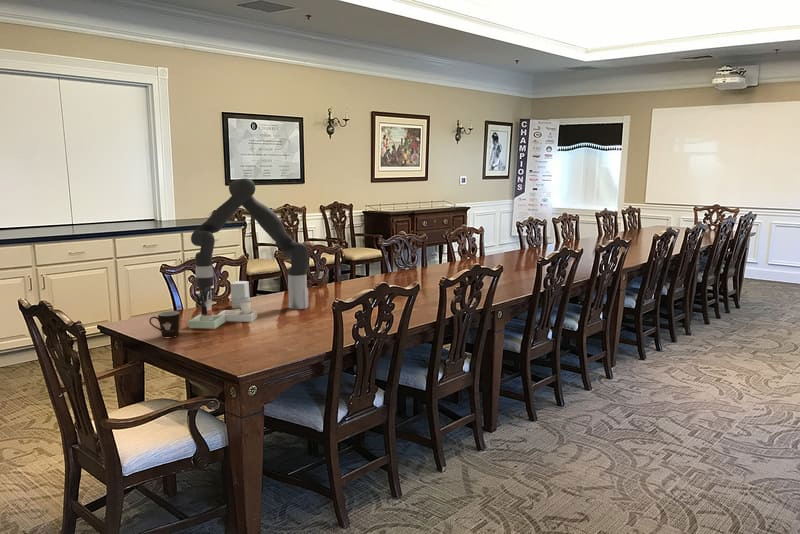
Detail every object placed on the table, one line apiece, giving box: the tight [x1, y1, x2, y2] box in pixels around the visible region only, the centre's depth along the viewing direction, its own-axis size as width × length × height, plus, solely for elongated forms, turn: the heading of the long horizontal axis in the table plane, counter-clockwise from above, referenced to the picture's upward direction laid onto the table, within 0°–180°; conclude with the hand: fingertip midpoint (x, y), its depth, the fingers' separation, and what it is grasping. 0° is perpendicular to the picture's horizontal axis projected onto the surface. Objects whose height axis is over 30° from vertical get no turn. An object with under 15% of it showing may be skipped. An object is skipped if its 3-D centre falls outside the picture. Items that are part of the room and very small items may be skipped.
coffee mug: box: [148, 310, 180, 337], centre depth 262 cm, size 12×9×10 cm
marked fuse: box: [200, 299, 213, 321], centre depth 276 cm, size 5×5×10 cm
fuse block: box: [216, 309, 258, 323], centre depth 287 cm, size 16×8×4 cm, turn 84°
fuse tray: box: [187, 314, 226, 332], centre depth 277 cm, size 12×12×4 cm
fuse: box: [240, 296, 252, 315], centre depth 286 cm, size 5×5×10 cm
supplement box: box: [230, 280, 250, 309], centre depth 316 cm, size 7×7×13 cm
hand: (206, 312), depth 276 cm, fingers closed on marked fuse, 4 cm apart
